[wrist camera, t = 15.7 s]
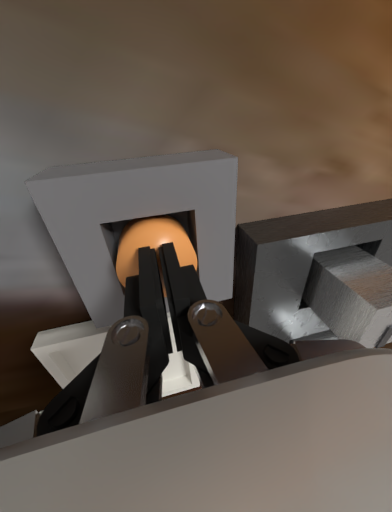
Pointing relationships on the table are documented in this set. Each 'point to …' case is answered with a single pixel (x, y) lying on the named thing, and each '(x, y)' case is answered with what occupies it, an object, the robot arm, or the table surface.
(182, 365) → the tray
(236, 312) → the grey slotted frame
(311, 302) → the billet
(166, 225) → the button cap
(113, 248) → the button housing
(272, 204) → the table surface
